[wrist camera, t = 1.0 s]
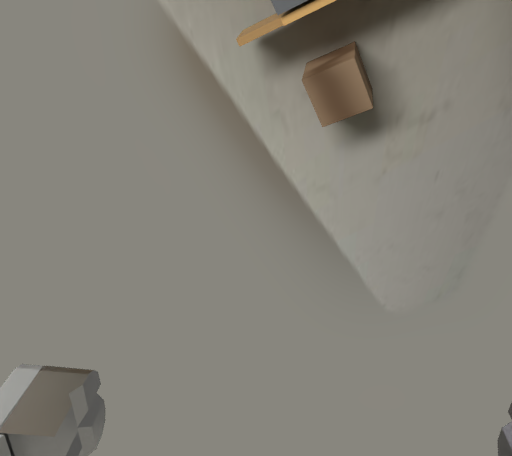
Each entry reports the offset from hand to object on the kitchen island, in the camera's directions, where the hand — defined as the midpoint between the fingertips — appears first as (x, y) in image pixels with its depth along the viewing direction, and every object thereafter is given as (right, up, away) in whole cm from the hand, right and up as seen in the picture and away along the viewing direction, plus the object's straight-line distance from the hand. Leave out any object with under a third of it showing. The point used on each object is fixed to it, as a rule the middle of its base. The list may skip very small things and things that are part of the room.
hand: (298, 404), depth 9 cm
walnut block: (+8, +19, +37) cm, 42 cm away
